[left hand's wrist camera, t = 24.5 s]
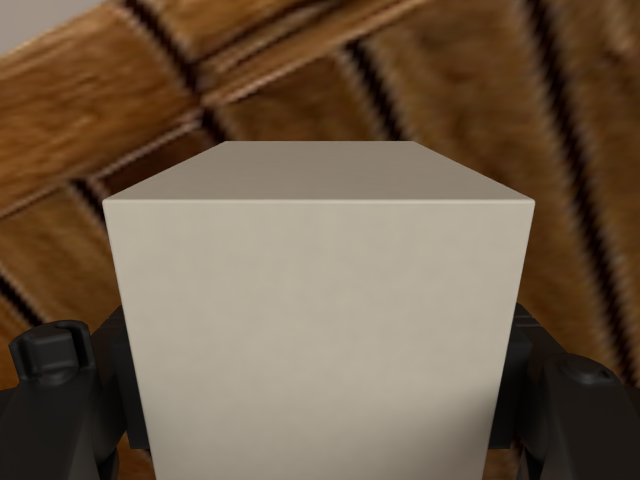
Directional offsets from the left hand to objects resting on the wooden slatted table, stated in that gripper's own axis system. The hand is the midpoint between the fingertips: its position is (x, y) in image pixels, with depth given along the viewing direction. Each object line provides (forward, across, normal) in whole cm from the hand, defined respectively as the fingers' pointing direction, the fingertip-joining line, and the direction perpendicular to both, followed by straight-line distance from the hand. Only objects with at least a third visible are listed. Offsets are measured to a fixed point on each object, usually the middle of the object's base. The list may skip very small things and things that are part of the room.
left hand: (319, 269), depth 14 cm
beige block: (+2, 0, 0) cm, 2 cm away
